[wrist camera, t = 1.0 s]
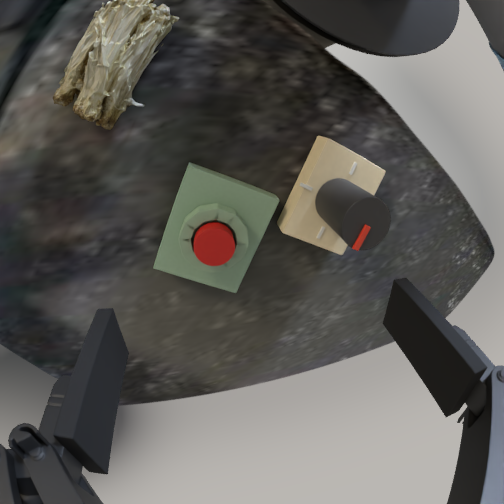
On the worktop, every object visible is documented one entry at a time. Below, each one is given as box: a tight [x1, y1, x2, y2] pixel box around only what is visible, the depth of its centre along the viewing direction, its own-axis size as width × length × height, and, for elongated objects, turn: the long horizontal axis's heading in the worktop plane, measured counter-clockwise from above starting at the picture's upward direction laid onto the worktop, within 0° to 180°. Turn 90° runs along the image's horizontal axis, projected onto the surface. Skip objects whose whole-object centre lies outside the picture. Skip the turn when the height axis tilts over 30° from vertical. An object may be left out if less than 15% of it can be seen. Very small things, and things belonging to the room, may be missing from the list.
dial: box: [315, 178, 391, 251], centre depth 28 cm, size 5×5×7 cm
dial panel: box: [277, 136, 386, 255], centre depth 32 cm, size 11×9×3 cm
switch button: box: [194, 222, 235, 266], centre depth 30 cm, size 4×4×2 cm
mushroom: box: [53, 0, 179, 130], centre depth 22 cm, size 14×10×5 cm, turn 151°
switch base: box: [153, 162, 280, 293], centre depth 32 cm, size 12×10×4 cm
